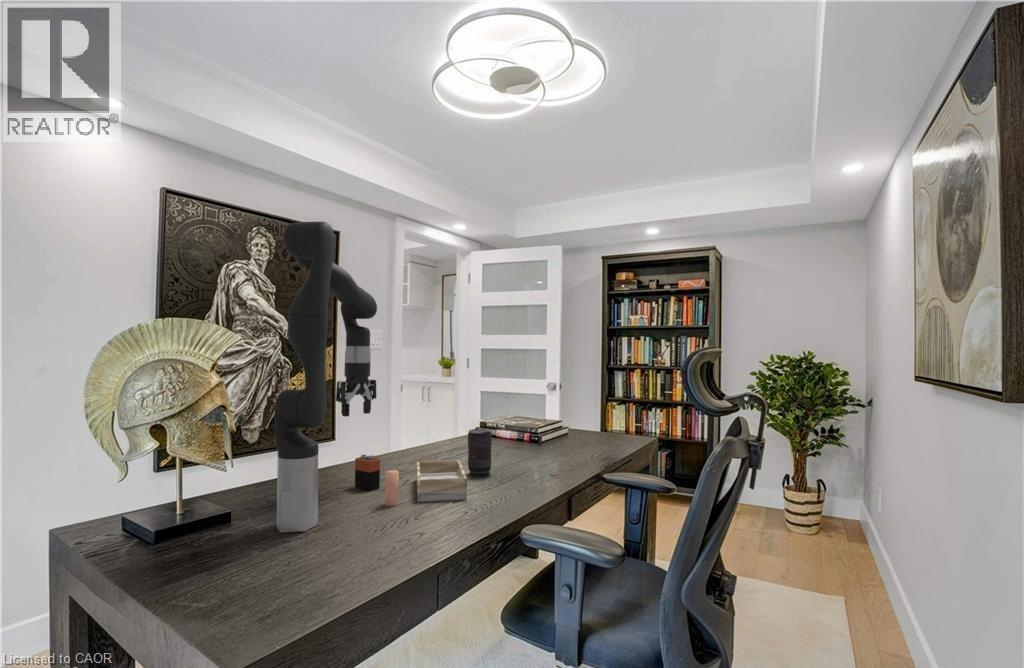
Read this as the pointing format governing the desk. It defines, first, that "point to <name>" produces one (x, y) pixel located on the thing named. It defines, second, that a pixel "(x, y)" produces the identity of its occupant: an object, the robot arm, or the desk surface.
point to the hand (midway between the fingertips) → (356, 414)
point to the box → (441, 481)
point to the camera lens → (479, 452)
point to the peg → (391, 487)
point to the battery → (367, 472)
